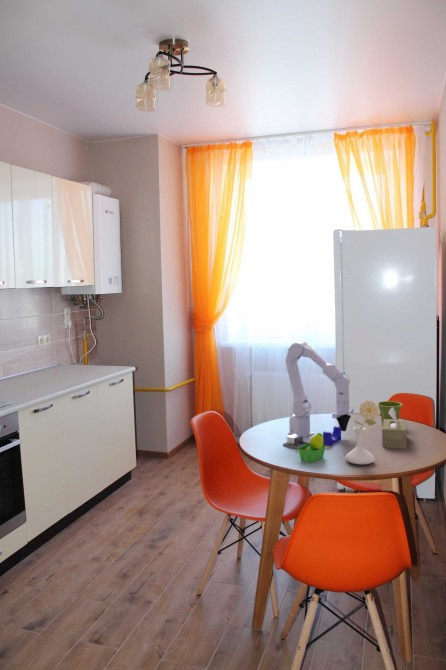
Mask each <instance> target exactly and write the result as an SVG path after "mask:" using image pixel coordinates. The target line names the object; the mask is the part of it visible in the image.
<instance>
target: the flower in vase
mask: <svg viewBox="0 0 446 670" xmlns="http://www.w3.org/2000/svg"><path fill="white" fill-rule="evenodd" d="M359 414H360V416H362V419H364V422H362V423H361V422H358V421H356V420H354V419H353V421H354V423H355V424H359V425H361V426H355V427H353V428H352V429H353V430H354V432H355V435H356V446H355V448H353V449H352V450H350V451H349V452H348V453H347V454H346V455H345V457H344V459H345V460H346V462H348V463H350V464H353V465H369V464H371V463H373V462H374V461H375V460H376V458H375V456H374V455H373V453H372V452H370V451H369V450H368V449H366V448H365V446H364V441H363V439H364V433H365V431H366V430H367V428H366V427H365V426H364V425H365V424H367V425H368V426H374V425H376V424H377V422H376V421H375V420H374V419H376V418H378V417H379V415H380V409H379V407H378V405H376V403H375V402H374V401H372V400H365V401H363V402H361V403H360V405H359Z"/></svg>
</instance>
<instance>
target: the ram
mask: <svg viewBox="0 0 446 670" xmlns="http://www.w3.org/2000/svg"><path fill="white" fill-rule="evenodd" d="M303 441H304V437H303V435H299V434H293V435H292V434H289V435H287V436H286V442H287V444H290V445H294V446H298V447H300V446H301V445H304V444H303Z"/></svg>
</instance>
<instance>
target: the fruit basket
mask: <svg viewBox="0 0 446 670" xmlns="http://www.w3.org/2000/svg"><path fill="white" fill-rule="evenodd" d="M299 447H300V448H298V449H297V451H299V452H298V454H299V457H300V462H307V463H311V464H312V463H314V462H316V461H318V460H321V459H322V458H324V454H325V451H326V449H327V448H326V445H323V433H321V432H317V433H316V434H315V435H313V436H312V437H310V439H309V444H307V445H305V444H303V446H299ZM325 448H326V449H325Z"/></svg>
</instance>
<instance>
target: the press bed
mask: <svg viewBox="0 0 446 670" xmlns="http://www.w3.org/2000/svg"><path fill="white" fill-rule="evenodd" d="M309 443H310V441H309V442H308V441H304V440H303V444H302V445H307V444H309ZM282 446H283V447H287V448H290V449H295V450H297V451H296V452H297V453H299V451H298V448H300V447H301V446H294V445H290V444H287V441H285V442H284V443H282ZM328 448H331V446H326V448H325V450H326V449H328Z"/></svg>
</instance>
